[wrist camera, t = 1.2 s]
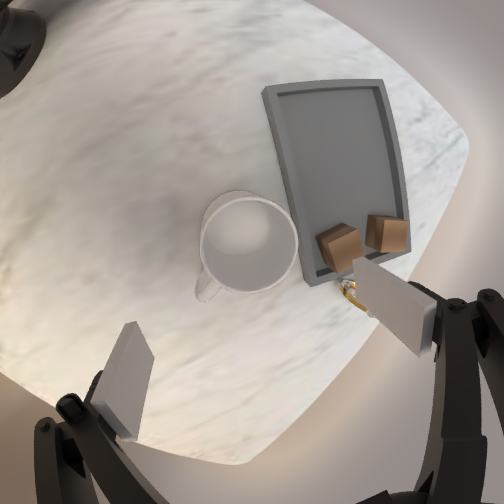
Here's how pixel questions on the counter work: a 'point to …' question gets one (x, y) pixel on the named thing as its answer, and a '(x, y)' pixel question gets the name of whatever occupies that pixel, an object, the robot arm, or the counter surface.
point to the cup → (244, 245)
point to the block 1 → (340, 247)
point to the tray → (337, 162)
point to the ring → (350, 287)
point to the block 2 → (386, 233)
